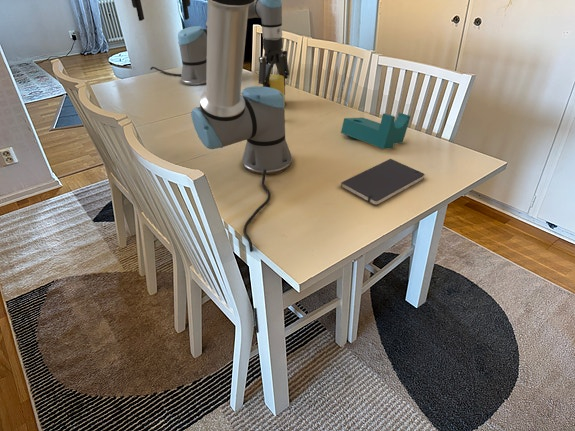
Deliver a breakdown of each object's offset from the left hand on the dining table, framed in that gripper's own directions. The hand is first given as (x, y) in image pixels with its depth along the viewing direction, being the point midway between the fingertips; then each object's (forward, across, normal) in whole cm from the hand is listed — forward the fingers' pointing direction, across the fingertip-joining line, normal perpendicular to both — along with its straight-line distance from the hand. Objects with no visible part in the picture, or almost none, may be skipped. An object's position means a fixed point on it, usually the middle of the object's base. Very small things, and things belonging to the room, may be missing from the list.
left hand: (275, 97), depth 165 cm
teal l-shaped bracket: (+3, -3, -49) cm, 49 cm away
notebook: (+3, -26, -67) cm, 72 cm away
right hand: (-35, -44, +2) cm, 56 cm away
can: (+3, 0, 0) cm, 3 cm away
